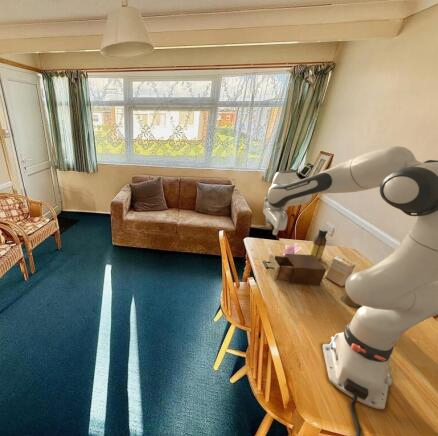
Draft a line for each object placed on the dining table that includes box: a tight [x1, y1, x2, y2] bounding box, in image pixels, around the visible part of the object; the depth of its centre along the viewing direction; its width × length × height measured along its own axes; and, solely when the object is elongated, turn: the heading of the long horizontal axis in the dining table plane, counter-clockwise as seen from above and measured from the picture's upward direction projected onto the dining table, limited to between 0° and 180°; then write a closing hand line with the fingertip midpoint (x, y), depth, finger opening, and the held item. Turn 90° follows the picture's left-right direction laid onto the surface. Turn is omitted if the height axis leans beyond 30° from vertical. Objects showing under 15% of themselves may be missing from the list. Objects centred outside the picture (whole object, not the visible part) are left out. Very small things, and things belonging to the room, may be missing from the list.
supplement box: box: [325, 255, 357, 287], centre depth 119 cm, size 8×5×13 cm, turn 22°
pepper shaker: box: [342, 293, 360, 308], centre depth 106 cm, size 6×6×11 cm
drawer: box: [261, 254, 294, 281], centre depth 124 cm, size 18×11×9 cm, turn 82°
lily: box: [281, 242, 303, 256], centre depth 140 cm, size 12×12×10 cm
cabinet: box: [284, 252, 327, 287], centre depth 123 cm, size 15×13×11 cm
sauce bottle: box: [308, 227, 328, 261], centre depth 137 cm, size 6×6×20 cm
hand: (270, 229), depth 114 cm, fingers open, 8 cm apart
